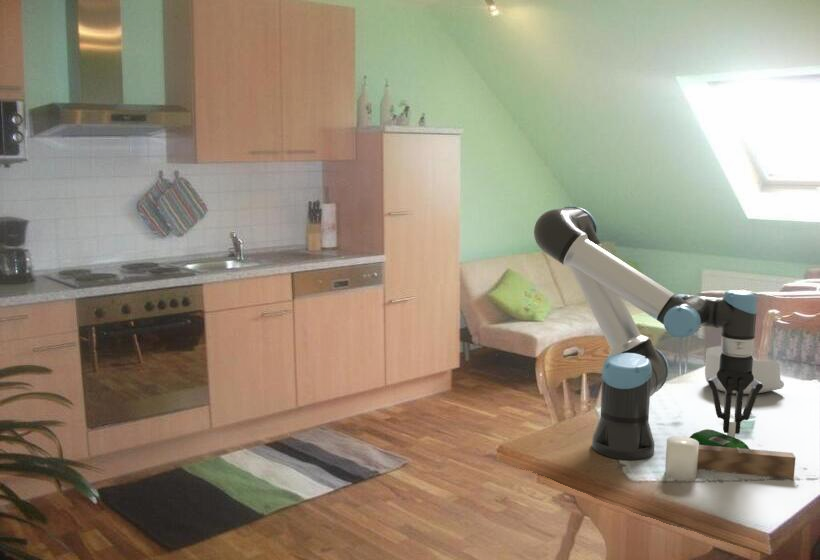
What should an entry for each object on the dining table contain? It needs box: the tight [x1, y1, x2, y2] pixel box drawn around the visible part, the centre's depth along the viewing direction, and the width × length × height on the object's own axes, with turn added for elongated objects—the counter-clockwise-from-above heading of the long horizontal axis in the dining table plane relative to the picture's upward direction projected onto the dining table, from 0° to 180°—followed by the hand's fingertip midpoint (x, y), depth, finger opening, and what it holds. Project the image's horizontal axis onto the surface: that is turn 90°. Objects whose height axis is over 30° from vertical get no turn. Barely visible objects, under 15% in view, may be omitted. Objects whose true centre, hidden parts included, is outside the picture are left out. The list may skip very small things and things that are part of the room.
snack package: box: [688, 428, 750, 449], centre depth 202 cm, size 7×16×5 cm, turn 29°
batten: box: [697, 445, 796, 479], centre depth 192 cm, size 22×3×5 cm, turn 76°
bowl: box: [704, 345, 785, 395], centre depth 257 cm, size 20×19×12 cm
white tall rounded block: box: [664, 435, 699, 481], centre depth 190 cm, size 7×7×8 cm
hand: (730, 445), depth 205 cm, fingers closed
